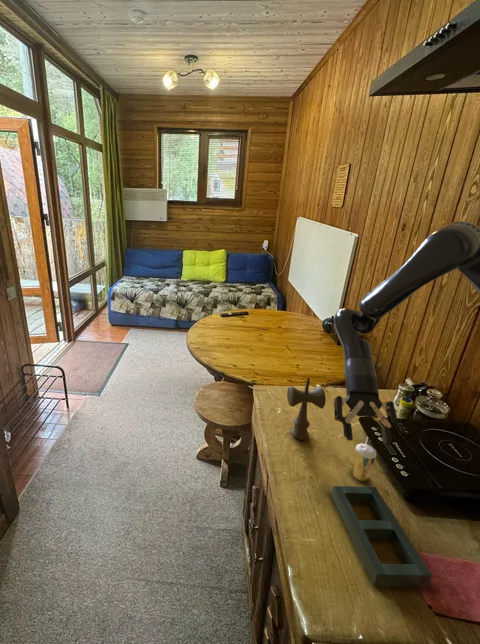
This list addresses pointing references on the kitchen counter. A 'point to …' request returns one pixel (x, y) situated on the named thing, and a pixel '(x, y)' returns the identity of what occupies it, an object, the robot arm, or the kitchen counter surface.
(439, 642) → the kitchen counter surface
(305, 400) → the kendama
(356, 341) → the robot arm
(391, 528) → the frame
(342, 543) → the kitchen counter surface
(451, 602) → the kitchen counter surface
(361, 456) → the milkshake
